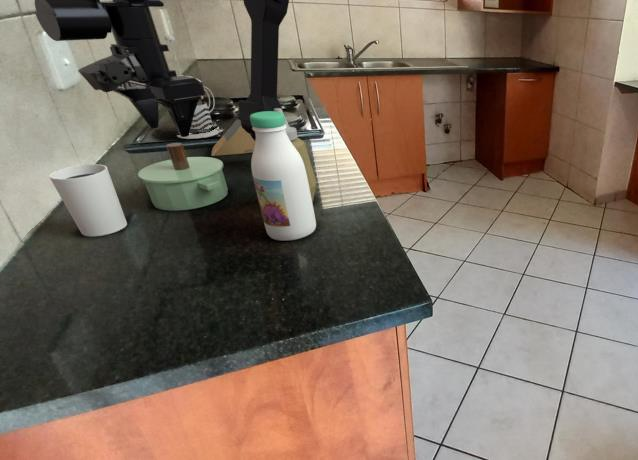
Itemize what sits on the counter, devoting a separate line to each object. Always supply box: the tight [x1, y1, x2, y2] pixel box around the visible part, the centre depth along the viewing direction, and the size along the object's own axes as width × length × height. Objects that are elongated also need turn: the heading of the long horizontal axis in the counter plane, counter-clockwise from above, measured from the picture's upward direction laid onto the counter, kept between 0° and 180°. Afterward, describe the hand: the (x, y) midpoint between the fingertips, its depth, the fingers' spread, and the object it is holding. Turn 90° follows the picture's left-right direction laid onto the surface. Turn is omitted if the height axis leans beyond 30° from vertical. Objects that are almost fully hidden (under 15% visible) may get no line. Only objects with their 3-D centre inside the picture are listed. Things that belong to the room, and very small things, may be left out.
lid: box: [137, 142, 224, 183], centre depth 79 cm, size 13×13×6 cm
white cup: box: [48, 163, 128, 237], centre depth 68 cm, size 7×7×10 cm
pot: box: [143, 168, 229, 212], centre depth 81 cm, size 12×17×6 cm
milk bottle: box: [250, 111, 317, 242], centre depth 68 cm, size 8×8×20 cm
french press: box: [164, 34, 220, 140], centre depth 113 cm, size 10×12×25 cm
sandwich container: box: [211, 118, 255, 157], centre depth 106 cm, size 9×15×15 cm, turn 118°
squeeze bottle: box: [274, 108, 317, 202], centre depth 79 cm, size 8×8×18 cm
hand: (169, 132), depth 76 cm, fingers open, 9 cm apart
